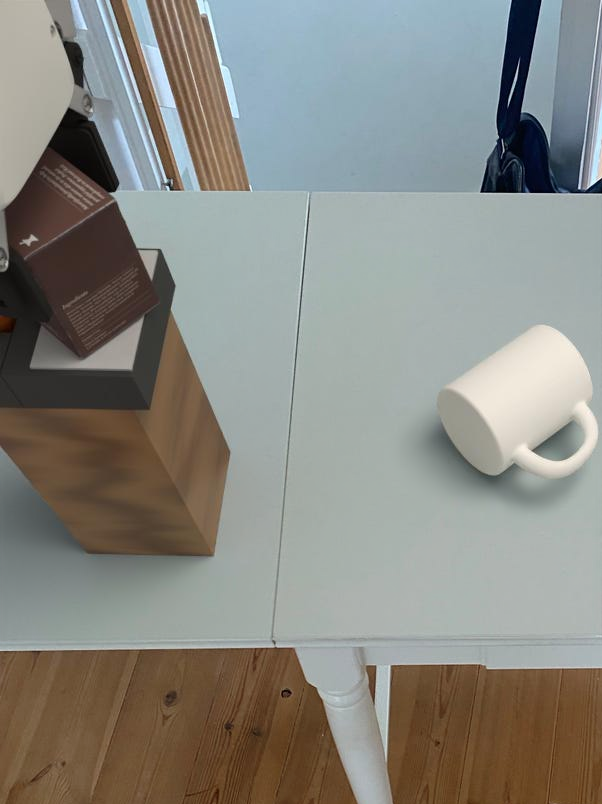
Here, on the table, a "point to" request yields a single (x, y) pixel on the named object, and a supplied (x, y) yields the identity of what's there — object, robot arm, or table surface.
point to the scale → (89, 359)
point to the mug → (521, 405)
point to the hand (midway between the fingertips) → (60, 248)
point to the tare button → (7, 324)
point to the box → (78, 254)
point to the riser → (130, 464)
